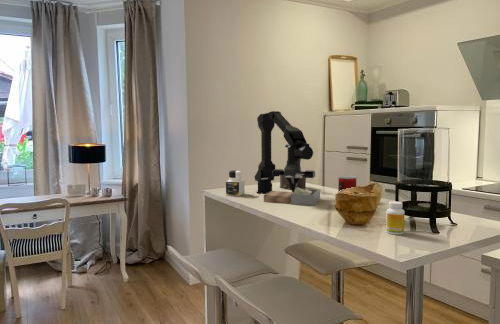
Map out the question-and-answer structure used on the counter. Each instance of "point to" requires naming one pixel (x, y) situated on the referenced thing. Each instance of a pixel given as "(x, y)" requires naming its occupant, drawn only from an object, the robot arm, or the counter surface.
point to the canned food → (346, 182)
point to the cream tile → (307, 192)
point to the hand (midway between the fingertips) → (293, 192)
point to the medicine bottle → (235, 184)
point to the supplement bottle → (395, 218)
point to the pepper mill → (285, 184)
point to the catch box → (306, 198)
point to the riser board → (278, 197)
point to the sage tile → (298, 191)
